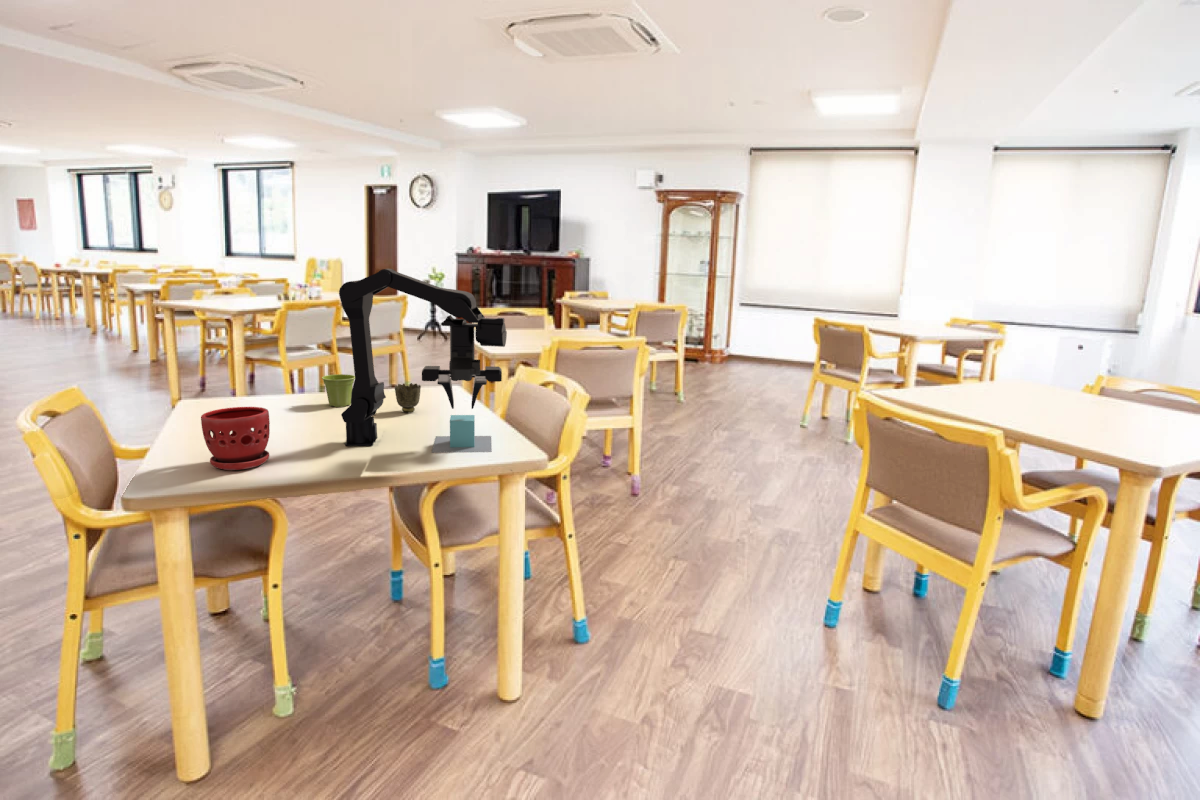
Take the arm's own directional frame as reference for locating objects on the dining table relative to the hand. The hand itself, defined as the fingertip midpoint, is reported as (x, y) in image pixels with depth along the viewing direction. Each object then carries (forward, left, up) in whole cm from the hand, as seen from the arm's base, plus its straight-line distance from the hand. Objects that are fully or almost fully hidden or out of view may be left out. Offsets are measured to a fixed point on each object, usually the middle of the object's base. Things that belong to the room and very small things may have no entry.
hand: (462, 408), depth 168 cm
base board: (0, 0, -10) cm, 10 cm away
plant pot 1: (-48, -11, -10) cm, 50 cm away
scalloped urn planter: (-17, +37, -10) cm, 42 cm away
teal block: (0, 0, -9) cm, 9 cm away
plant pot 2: (-38, +46, -10) cm, 61 cm away
